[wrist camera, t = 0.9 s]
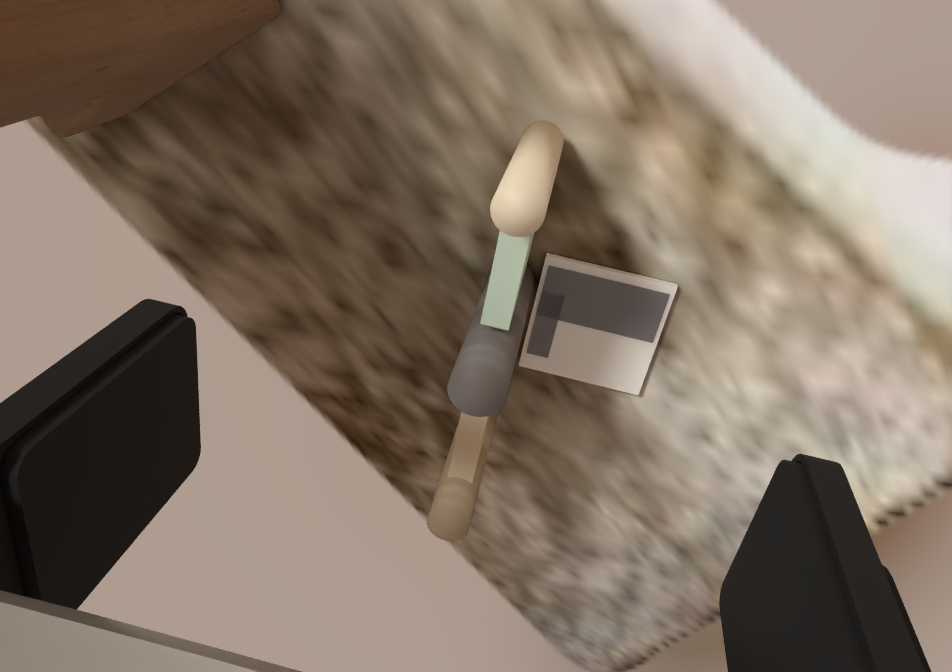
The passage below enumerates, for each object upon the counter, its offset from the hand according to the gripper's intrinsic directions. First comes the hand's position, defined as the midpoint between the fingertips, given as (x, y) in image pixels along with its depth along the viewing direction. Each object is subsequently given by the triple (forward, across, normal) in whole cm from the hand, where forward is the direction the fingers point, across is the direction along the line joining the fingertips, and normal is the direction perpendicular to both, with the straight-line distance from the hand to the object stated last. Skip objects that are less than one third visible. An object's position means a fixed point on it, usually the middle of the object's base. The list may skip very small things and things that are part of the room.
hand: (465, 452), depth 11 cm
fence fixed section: (+20, +1, +9) cm, 22 cm away
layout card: (+20, -3, +7) cm, 21 cm away
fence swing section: (+19, +1, +2) cm, 19 cm away
